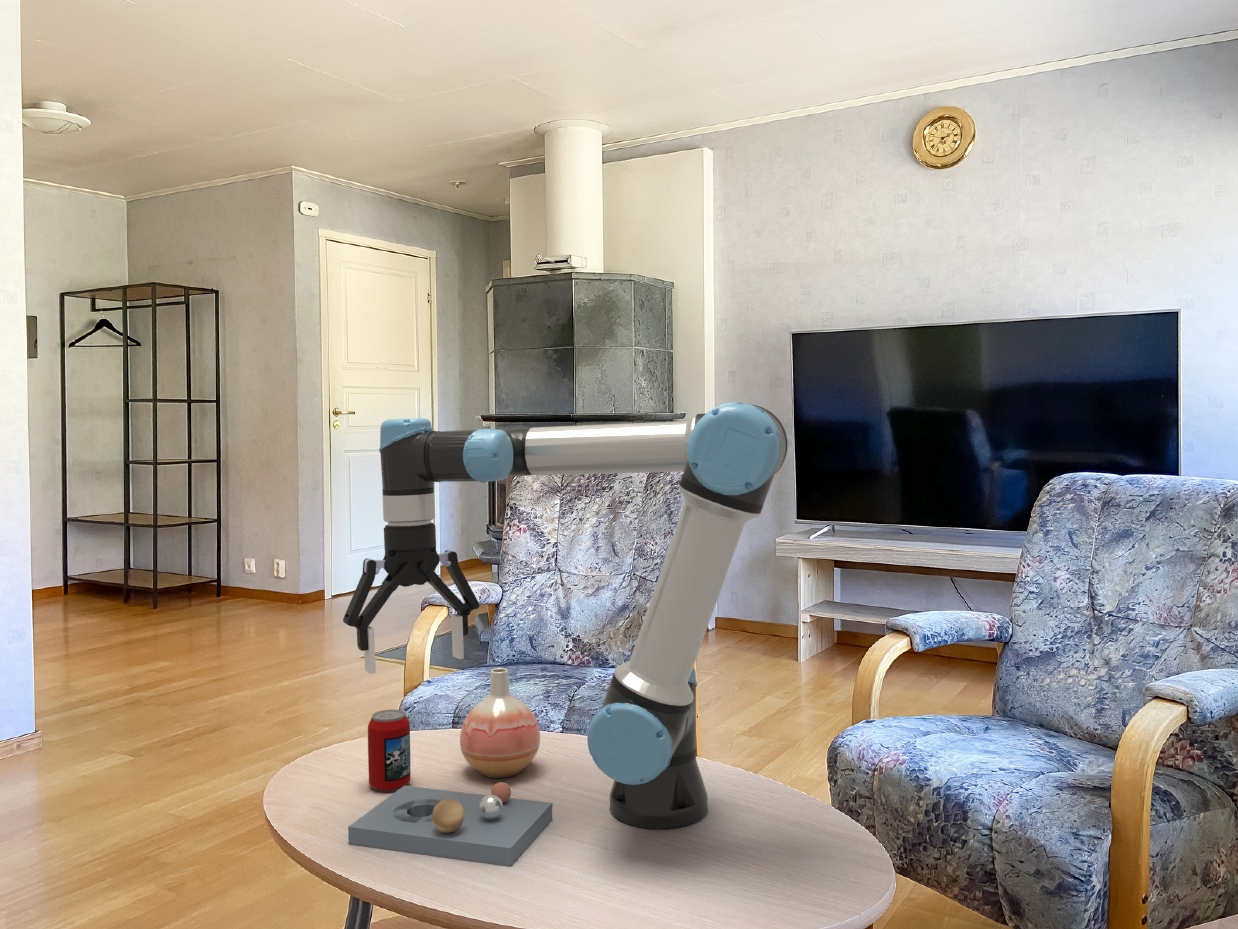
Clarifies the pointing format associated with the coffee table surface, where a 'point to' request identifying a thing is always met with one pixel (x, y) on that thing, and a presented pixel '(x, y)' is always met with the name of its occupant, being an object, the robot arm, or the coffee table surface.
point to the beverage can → (389, 750)
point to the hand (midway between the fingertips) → (415, 664)
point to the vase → (499, 731)
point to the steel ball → (490, 807)
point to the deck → (477, 839)
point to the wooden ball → (448, 815)
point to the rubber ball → (501, 791)
